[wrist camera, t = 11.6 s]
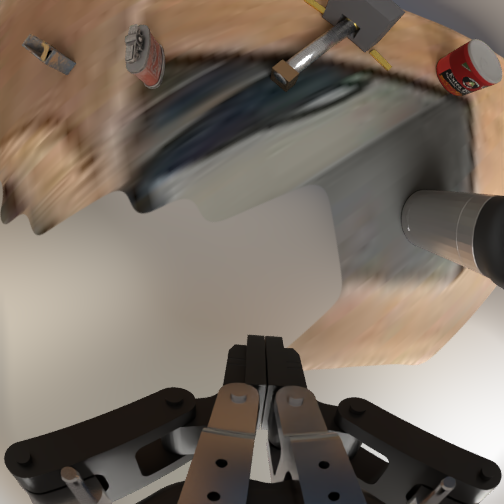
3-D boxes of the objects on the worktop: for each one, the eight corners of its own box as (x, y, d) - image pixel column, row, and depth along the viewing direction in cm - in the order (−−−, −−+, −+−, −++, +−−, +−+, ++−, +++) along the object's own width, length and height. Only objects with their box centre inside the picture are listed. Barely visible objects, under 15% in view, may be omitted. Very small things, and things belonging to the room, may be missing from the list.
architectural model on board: (78, 62, 35) (48, 44, 25) (68, 75, 35) (37, 60, 26) (53, 44, 33) (25, 28, 24) (44, 56, 34) (15, 42, 24)
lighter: (146, 48, 34) (121, 20, 24) (166, 44, 34) (145, 13, 24) (143, 90, 36) (115, 68, 26) (164, 86, 36) (139, 61, 26)
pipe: (323, 128, 37) (331, 121, 33) (233, 50, 34) (231, 37, 30) (408, 52, 33) (419, 43, 29) (330, -14, 31) (335, -27, 27)
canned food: (432, 81, 34) (468, 62, 23) (437, 51, 33) (470, 29, 22) (463, 105, 35) (502, 93, 24) (467, 74, 33) (502, 59, 22)
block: (364, 52, 33) (390, 21, 23) (322, 16, 32) (337, -21, 22) (378, 42, 33) (405, 12, 22) (337, 7, 32) (354, -29, 21)
